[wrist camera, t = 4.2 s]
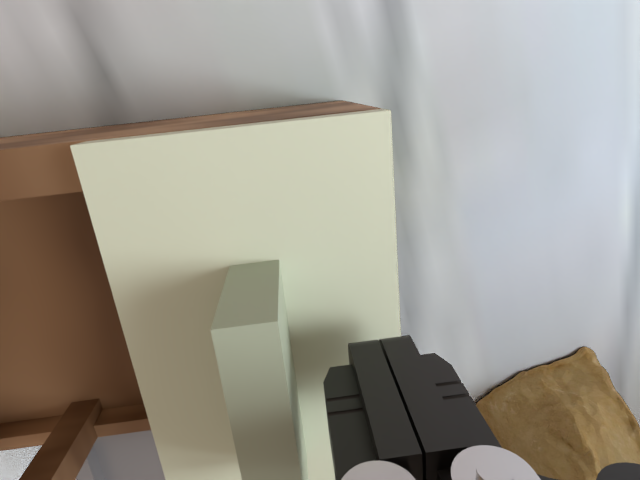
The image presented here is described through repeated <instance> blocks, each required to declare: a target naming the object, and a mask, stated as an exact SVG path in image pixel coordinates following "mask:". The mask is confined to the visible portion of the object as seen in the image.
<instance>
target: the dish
mask: <svg viewBox="0 0 640 480" xmlns="http://www.w3.org/2000/svg"><path fill="white" fill-rule="evenodd" d="M76 479H77V480H165V476H164V473H163V469H162V466H161V462H160V459H159V455H158V452H157V448H156V445H155V441H154V438H153V434H152V431H151V430H148V431H141V432H133V433H126V434H119V435H111V436H104V437H98V438H97V439H96V441H95V443H94V445H93V447H92V449H91V451H90V453H89V454H88V456H87V458H86V460H85V462H84V464H83V466H82V468H81V469H80V471H79V473H78V475H77V477H76Z"/></svg>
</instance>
